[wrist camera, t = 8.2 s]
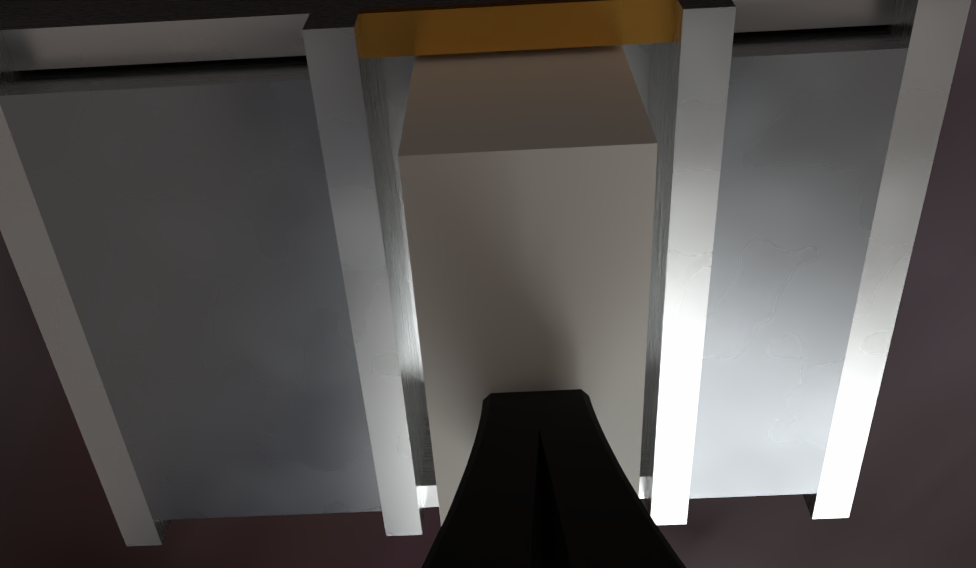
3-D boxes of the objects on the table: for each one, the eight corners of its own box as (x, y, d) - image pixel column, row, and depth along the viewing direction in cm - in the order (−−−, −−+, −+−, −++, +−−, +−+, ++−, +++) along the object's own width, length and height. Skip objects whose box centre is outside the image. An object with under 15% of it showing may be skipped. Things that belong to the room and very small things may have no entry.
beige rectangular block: (602, 353, 19) (635, 551, 15) (452, 360, 19) (444, 558, 15) (608, 8, 15) (657, 143, 11) (421, 18, 15) (397, 156, 11)
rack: (802, 409, 20) (849, 517, 18) (170, 436, 21) (126, 546, 18) (887, -65, 15) (973, -8, 12) (22, -17, 15) (-73, 48, 13)
